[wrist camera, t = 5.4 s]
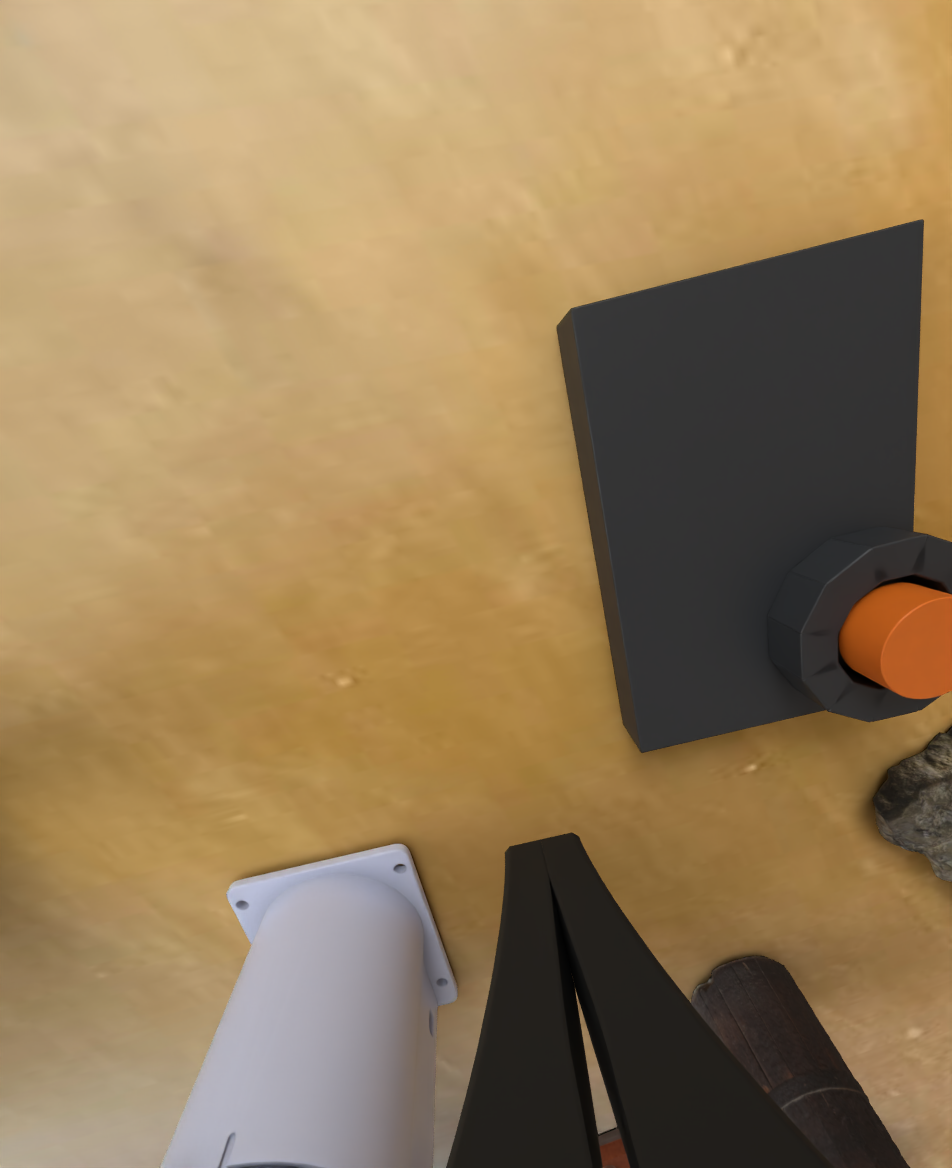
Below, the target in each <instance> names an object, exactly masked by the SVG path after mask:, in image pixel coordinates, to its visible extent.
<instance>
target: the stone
mask: <svg viewBox="0 0 952 1168" xmlns="http://www.w3.org/2000/svg"><path fill="white" fill-rule="evenodd" d="M873 802H874V806H875V813H876V825H877V826H878V828H879V833H880V834H881V835H882V836H883V837H884V838H885V839H886V840H887V841H889V842H890V843H892V844H894V845H898V846H900V847H902V848H904V849H906V850H909V851H914V852H919V853H921V854H924V855H925V856H926V857H927V858H928V859H929V861H930V863H931V865H932V869H933V872H934V873H935V875H936V876H937V877H939V878H940V879H942V880H946V881H950V882H952V727H951V728H950V730H949V731H948V732H947V733H944V734H942V733H939V734H938V735H937V736H936V737H935V738H934V739H933V740H932V741H931V742H930V744H929V745H928V747H927V749H926V750H924V751H923V752H921V753H919V754H917V755H915V756H912V757H910V758H907V759H905V760H902V761H901V762H900V764H899V765H897V766H894V767H891V768H890V769H888V779H887V780H886V781H885V782H884V783H883V784H882V786H881V787H880V789H879V791H878V792H877V793H876V795H875V796H874V797H873Z"/></svg>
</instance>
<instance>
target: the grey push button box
mask: <svg viewBox="0 0 952 1168" xmlns="http://www.w3.org/2000/svg"><path fill="white" fill-rule="evenodd" d="M923 229H924V220H917V221H913V222H909V223H905V224H901V225H898V226H894V227H890V228H886V229H882V230H878V231H874V232H870V233H866V234H862V235H858V236H854V237H850V238H846V239H842V240H838V241H834V242H831V243H827V244H823V245H819V246H815V247H811V248H807V249H803V250H799V251H795V252H791V253H787V254H783V255H779V256H775V257H771V258H768V259H764V260H760V261H756V262H752V263H748V264H744V265H740V266H736V267H732V268H728V269H724V270H720V271H716V272H712V273H708V274H704V275H701V276H697V277H693V278H689V279H685V280H681V281H677V282H673V283H669V284H665V285H661V286H657V287H653V288H649V289H645V290H641V291H638V292H634V293H630V294H626V295H622V296H618V297H614V298H610V299H606V300H602V301H598V302H594V303H590V304H586V305H582V306H578V307H574V308H571V309H570V310H569V312H568V313H567V314H566V315H565V317H564V318H563V319H562V320H561V322H560V323H559V324H558V325H557V334H558V340H559V346H560V352H561V358H562V364H563V370H564V376H565V382H566V388H567V394H568V400H569V405H570V411H571V417H572V423H573V429H574V435H575V441H576V447H577V453H578V459H579V465H580V471H581V477H582V483H583V489H584V494H585V500H586V506H587V512H588V518H589V524H590V530H591V536H592V542H593V548H594V554H595V560H596V566H597V572H598V578H599V584H600V589H601V595H602V601H603V607H604V613H605V619H606V625H607V631H608V637H609V643H610V649H611V655H612V661H613V667H614V673H615V679H616V684H617V690H618V696H619V702H620V708H621V714H622V720H623V725H624V726H625V728H626V729H627V731H628V733H629V734H630V736H631V737H632V739H633V741H634V742H635V744H636V745H637V747H638V749H639V750H640V752H641V753H644V752H648V751H652V750H657V749H661V748H665V747H669V746H674V745H678V744H682V743H687V742H691V741H695V740H699V739H704V738H708V737H712V736H717V735H721V734H725V733H729V732H734V731H738V730H742V729H746V728H751V727H755V726H759V725H764V724H768V723H772V722H776V721H781V720H785V719H789V718H794V717H798V716H802V715H806V714H811V713H815V712H819V711H824V710H827V711H829V712H832V713H836V714H840V715H844V716H847V717H851V718H855V719H859V720H862V721H866V722H871V721H873V722H874V721H878V720H882V719H887V718H891V717H895V716H899V715H904V714H908V713H912V712H917V711H918V710H922V709H923V708H925V707H926V706H928V705H929V704H930V703H932V702H933V701H934V700H936V699H937V698H939V697H940V696H937V697H934V698H928V699H912V698H907V697H903V696H901V695H899V694H897V693H895V692H893V691H891V690H889V689H887V688H886V687H884V686H882V685H880V684H878V683H876V682H874V681H873V680H871V679H869V678H867V677H865V676H863V675H861V674H860V673H858V672H856V671H854V670H853V669H851V668H850V667H849V666H848V665H847V664H846V662H845V661H844V659H843V658H842V655H841V653H840V649H839V633H840V629H841V628H842V626H843V624H844V622H845V620H846V618H847V616H848V615H849V613H850V611H851V609H852V607H853V605H854V604H855V603H856V602H857V601H858V600H860V599H861V598H862V597H864V596H865V595H866V594H867V593H869V592H870V591H872V590H874V589H876V588H878V587H881V586H883V585H887V584H891V583H899V582H905V583H912V584H916V585H920V586H923V587H927V588H930V589H934V590H938V591H941V592H945V593H948V594H952V542H950V541H947V540H943V539H940V538H937V537H934V536H931V535H928V534H923V533H917V532H913V524H914V495H915V465H916V436H917V406H918V377H919V347H920V318H921V288H922V259H923Z"/></svg>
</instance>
